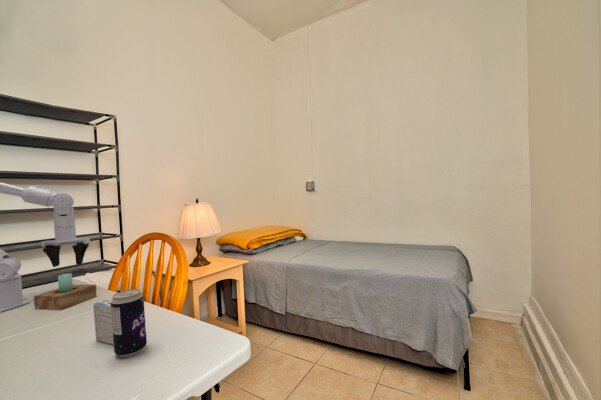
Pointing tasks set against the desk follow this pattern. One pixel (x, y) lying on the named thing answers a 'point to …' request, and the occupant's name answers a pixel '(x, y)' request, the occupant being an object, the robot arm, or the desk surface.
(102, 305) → the medicine box
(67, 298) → the walnut socket block
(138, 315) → the beverage can
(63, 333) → the desk surface
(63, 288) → the teal peg
